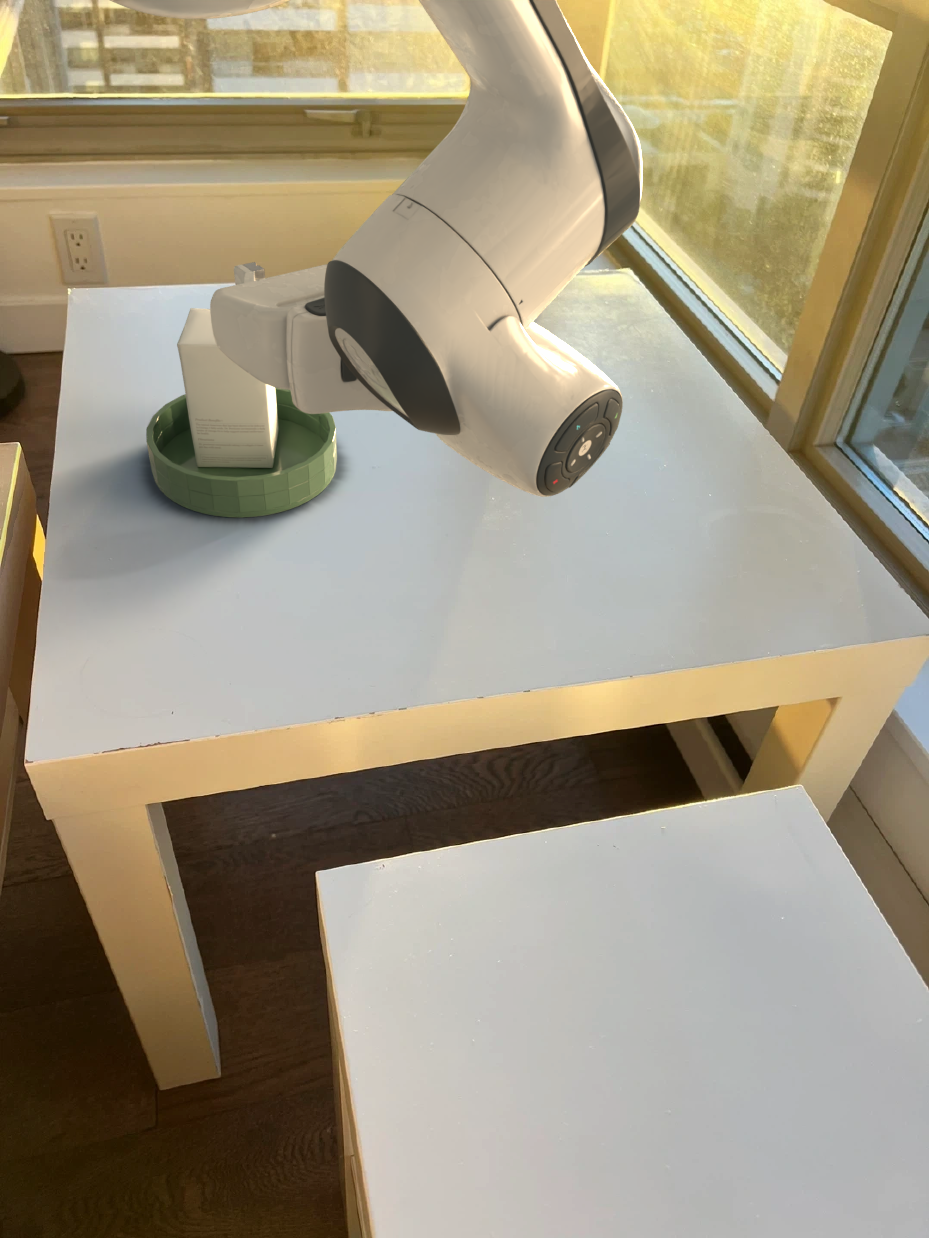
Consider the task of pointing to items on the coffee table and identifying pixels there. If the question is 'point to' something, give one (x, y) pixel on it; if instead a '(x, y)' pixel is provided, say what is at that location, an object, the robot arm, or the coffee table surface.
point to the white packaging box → (225, 402)
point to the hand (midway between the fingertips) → (301, 261)
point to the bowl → (244, 491)
